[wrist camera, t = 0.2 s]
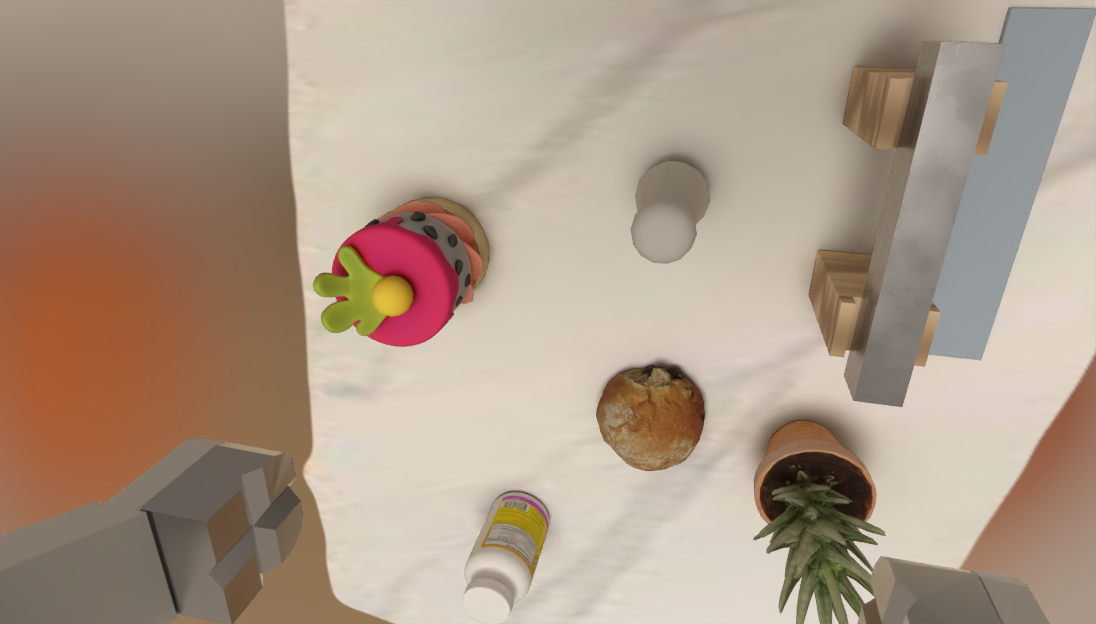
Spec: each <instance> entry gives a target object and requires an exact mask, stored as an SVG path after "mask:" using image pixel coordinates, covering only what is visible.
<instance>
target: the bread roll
mask: <svg viewBox="0 0 1096 624" xmlns="http://www.w3.org/2000/svg"><path fill="white" fill-rule="evenodd" d="M596 417H597V421H598V424H599V427H600V432H601V434H602V436H603V439H604V441H605V442H606V443H607V444H609V445H610V446H611V447H612V449H613V450H614V451H615V452H616V453H617V454H618V455H619V456H620V457H621V458H622V459H623V460H624V461H625V462H626V463H627V464H629V465H630V466H632V467H634V468H637V469H640V470H644V471H656V470H663V469H667V468H669V467H671V466H674V465H678V464H680V463H681V462H683V461H684V460H686V459H687V457H689V456H690V454H691V453H692V451H693V450H694V447H695V446H696V444H697V443H698V442H699V439H700V436H701V433H702V430H703V425H704V419H705V411H704V402H703V399H702V397H701V394H700V393H699V391H698V389H697V388H696V387H695V386H694V385H693V383H692V382H691V381H689V380H688V379H687V378H685V377H684V376H683V375H682V373H681V372H680V371H679V370H678V369H677V368H674V367H672V368H669V369H667V368H664V367H654V366H649V367H647V368H640V369H632V370H630V371H627V372H625V373H623V374H618V376H616V377H615V378H613V379H612V380H611V381H610V382H609V383H608V384H607V386H606V387H605V389H604V391H603V397H602V398H601V399H600V401H599V404H598V408H597V412H596Z"/></svg>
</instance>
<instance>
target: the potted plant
mask: <svg viewBox="0 0 1096 624" xmlns="http://www.w3.org/2000/svg"><path fill="white" fill-rule="evenodd" d="M876 496H877V495H876V489H875V485H874V483H873V480H872V478H871V476H870V474H869V473H868V471H867V469H866V468H865V466H864V464H863V463H862V462H861V460H860V459H859V458H858V457H857V456H856V455H854V454H853V453H852V452H851V451H849V450H847V449H846V448H844V447H842V446H841V445H840V444H839V443H838V442H837V440H836V439H835V438H834V436H833V435H832V433H831V432H830V431H829V430H827V429H826V428H825V427H823V426H821V425H819V424H817V423H815V422H810V421H805V420H804V421H794V422H791V423H788V424H787V425H785V426H784V427H782V428H781V429H780V430H778V431H777V432H775V434H774V435H773V437H772V438H771V441H770V444H769V447H768V450H767V453H766V456H765V458H764V460H763V461H762V462H761V463H760V465H759V467H758V469H757V471H756V474H755V478H754V498H755V503H756V506H757V509H758V511H759V513H760V515H761V517H762V518H763V519H764V520H765V521H766V523H767V524H768V525H767V526H766V527H765V528H764V529H763V530H761V531H760V533H759V534H758V535H757V536H755V537H754V540H757V539H759V538H761V537H762V538H763V537H765V536H767V535H769V534H771V533H772V532H774V533H773V536H772V538H771V541H770V543H771V544H770V545H769V547H768V548H767V551H766V553H770V552H772V551H775V550H778V549H781V548H787V547H790V549H789V554H788V558H787V563H786V569H785V580H784V584H783V588H782V591H781V595H780V600H779V612H780V613H782V611H783V608H784V606H785V604H786V602H787V600H788V597H789V595H790V593H791V592H792V590H793V588H794V586H795V585H796V583H797V582H798V581H799V580H800V578H801V577H802V580H801V585H800V590H799V595H798V603H797V616H796V624H803V623H804V620H805V616H806V613H807V610H808V606H809V603H810V600H811V597H812V595H813V592H814V593H815V598H816V604H817V610H818V616H819V621H820V624H832V609H833V612H834V614H835V616H836V619H837V620H838V622H839V624H848V619H847V614H846V611H845V608H844V605H843V602H842V598H841V594H842V595H843V597H844V598H845V600H846V601H847V602H848V604H849V605H850V606H851V608H852V609H853V610H854V611H855V613H856V614H857V615H858V617H859V616H860V612H861V608H862V606H863V605H865V603H864V602H863V600H862V599H861V597H860V596H859V594H858V593H857V592H856V590H855V589H854V587H853V586H852V584H851V583H850V581H849V579H848V578H847V576H849V577H850V578H852V579H854V580H855V581H857V582H858V583H859V584H860V585H862V586H863V587H864V588H865V589H867V590H868V591H869V592H870V593H871V594H872V595H873V596H874V592H873V589H872V585H871V581H870V578H871V575H870V574H869V573H868V572H867V571H866V570H865V569H864V568H863V567H861V566H860V565H859V564H858V563H857V562H856V561H855V560H854V559H853V558H852V557H851V556H850V555H849V553H848V551H847V549H849V550H850V551H851V552H853V553H854V554H855V555H856V556H857V557H858V558H859V559H860V560H861V561H862V562H863V563H864V564H865V565H866V566H867V567H868V568H869V569H870V570H871V571H872V572H873V568H872V567H871V565H870V564H869V562H868V561H867V559H866V558H865V556H864V555H863V554H862V553H861V551H860V550H859V549H858V547H857V546H856V545H855V544H854V542H853V541H858V542H864V543H869V544H874V545H878V543H877V542H875V541H874V540H873V539H872V538H870V537H868V536H866V535H863V534H861V532H860V531H859V530H858V529H859V528H861V529H863V530H866V531H869V532H872V533H876V534H879V535H883V536H886V535H885V533H884V531H883V530H881V529H880V528H878V527H876V526H873V525H871V524H869V523H867V520H868V519H869V518H870V517H871V515H872V512H873V510H874V507H875V503H876ZM840 593H841V594H840ZM874 597H875V596H874Z"/></svg>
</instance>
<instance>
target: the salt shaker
mask: <svg viewBox="0 0 1096 624" xmlns="http://www.w3.org/2000/svg"><path fill="white" fill-rule="evenodd" d="M635 198H636V204H637V211H638V212H637V213H636V214H635V217H634V220H633V223H632V227H631V233H632V240H633V245H634V246H635V248H636V249H637V250H638V252H639V253H640V255H641V256H643V257H645V258H646V259H648V260H650V261H651V262H654V263H666V264H667V263H670V262H673V261H676V260H679V259H681V258H682V257H683V256H684V255H685V254H686V253H687V252H688V251H689V250H690V249H691V248H692V245H693V243H694V240H695V237H696V235H697V233H696V224H697V223H698V222H699V221H700V220H701V219H702V218H703V217H704V215H705V212H706V209H707V207H708V204H709V202H710V198H709V190H708V184H707V183H706V181H705V179H704V178H703V176H702V175H701V173H700V171H699V170H697V169H695V168H694V167H692V166H690V165H688V164H686V163H684V162H675V161H666V162H664V163H661V164H659V165H656V166H654V167H652V168H650V170H649V171H648V172H647V173H646V174H645V175H644V176H643V177H642V178H641V179H640V181H639V184H638V188H637V191H636V194H635Z"/></svg>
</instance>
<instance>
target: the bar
mask: <svg viewBox="0 0 1096 624" xmlns="http://www.w3.org/2000/svg"><path fill="white" fill-rule="evenodd" d="M1004 47H1005V44H1001V43H986V42H952V41H922V45H921V50H920V54H919V58H918V62H917V67H916V71H915V75H914V79H913V84H912V88H911V92H910V96H909V101H908V105H907V109H906V113H905V118H904V122H903V126H902V130H901V135H900V139H899V143H898V147H897V152H896V156H895V160H894V164H893V169H892V173H891V177H890V181H889V186H888V190H887V194H886V198H885V203H884V207H883V211H882V215H881V220H880V224H879V228H878V232H877V237H876V241H875V245H874V249H873V254H872V258H871V262H870V266H869V271H868V275H867V279H866V284H865V288H864V292H863V296H862V301H861V305H860V309H859V313H858V318H857V322H856V326H855V330H854V335H853V339H852V343H851V347H850V352H849V356H848V360H847V364H846V369H845V373H844V377H845V380H846V382H847V385H848V388H849V390H850V393H851V396H852V399H853V401H859V402H867V403H875V404H883V405H890V406H898V407H902V406H903V403H904V399H905V395H906V392H907V388H908V385H909V381H910V378H911V374H912V371H913V367H914V364H915V360H916V357H917V353H918V350H919V346H920V343H921V339H922V336H923V332H924V329H925V325H926V322H927V318H928V314H929V311H930V307H931V304H932V300H933V297H934V293H935V290H936V286H937V283H938V279H939V276H940V272H941V269H942V265H943V262H944V258H945V255H946V251H947V248H948V244H949V241H950V237H951V234H952V230H953V226H954V223H955V219H956V216H957V212H958V209H959V205H960V202H961V198H962V195H963V191H964V188H965V184H966V181H967V177H968V174H969V170H970V167H971V163H972V160H973V156H974V153H975V149H976V145H977V142H978V138H979V135H980V131H981V128H982V124H983V121H984V117H985V114H986V110H987V107H988V103H989V100H990V96H991V93H992V89H993V86H994V82H995V79H996V75H997V72H998V68H999V65H1000V61H1001V57H1002V54H1003V50H1004Z"/></svg>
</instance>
